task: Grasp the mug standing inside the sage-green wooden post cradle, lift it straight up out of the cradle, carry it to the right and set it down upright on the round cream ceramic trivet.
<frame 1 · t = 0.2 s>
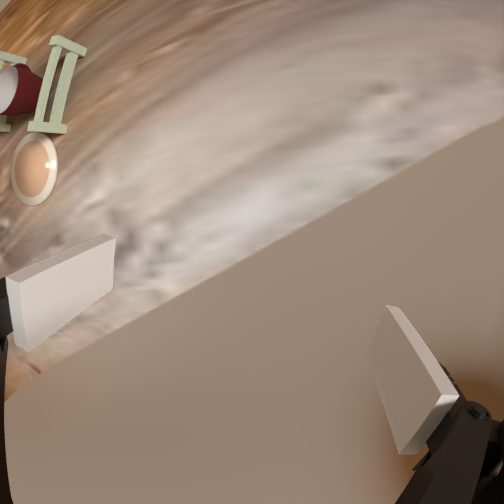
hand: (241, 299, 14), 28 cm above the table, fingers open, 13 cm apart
cradle: (40, 91, 39), on the table
trivet: (34, 168, 43), on the table
mug: (41, 92, 39), on the table
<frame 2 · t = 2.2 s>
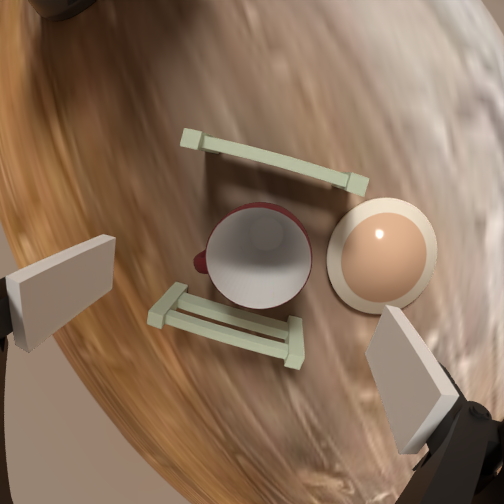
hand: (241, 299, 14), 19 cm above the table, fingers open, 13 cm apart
cradle: (255, 237, 33), on the table
trivet: (383, 256, 32), on the table
mug: (255, 237, 33), on the table
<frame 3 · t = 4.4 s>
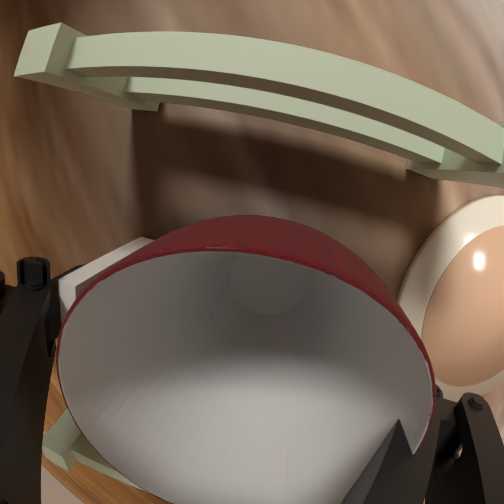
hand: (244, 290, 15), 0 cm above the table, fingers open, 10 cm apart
cradle: (245, 288, 15), on the table
trivet: (487, 307, 14), on the table
mug: (245, 286, 15), on the table, touching gripper
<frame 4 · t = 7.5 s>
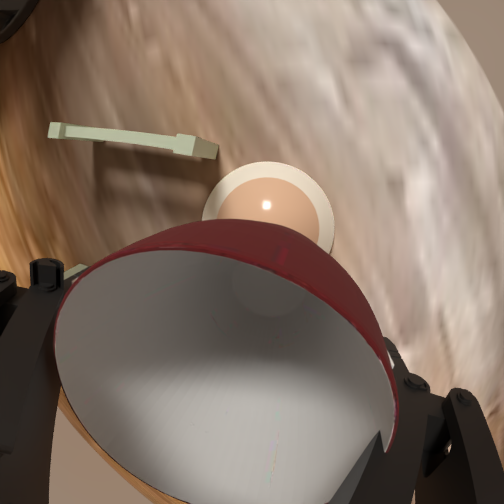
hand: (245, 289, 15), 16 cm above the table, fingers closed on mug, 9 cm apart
cradle: (136, 216, 32), on the table
trivet: (267, 227, 31), on the table
mug: (249, 289, 16), point 16 cm above the table, touching gripper
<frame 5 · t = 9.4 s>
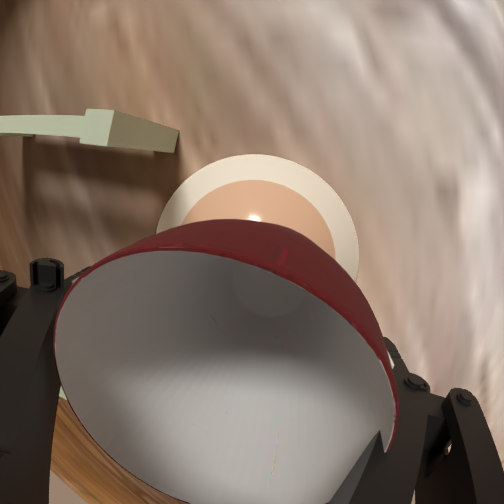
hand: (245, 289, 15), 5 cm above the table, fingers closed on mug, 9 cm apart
cradle: (72, 238, 21), on the table
trivet: (254, 259, 20), on the table
mug: (249, 289, 16), point 4 cm above the table, touching gripper
when the fingers open (2 cm above the table, at t = 10.5 s): mug stays where it is, resting on trivet.
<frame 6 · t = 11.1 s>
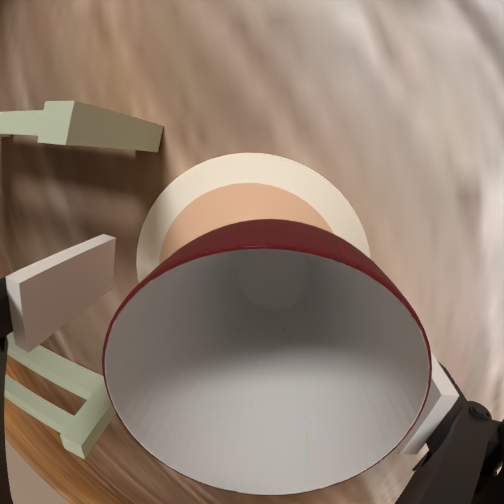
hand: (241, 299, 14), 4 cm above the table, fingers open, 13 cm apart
cradle: (50, 248, 18), on the table
trivet: (250, 274, 17), on the table
mug: (253, 284, 16), point 1 cm above the table, touching trivet
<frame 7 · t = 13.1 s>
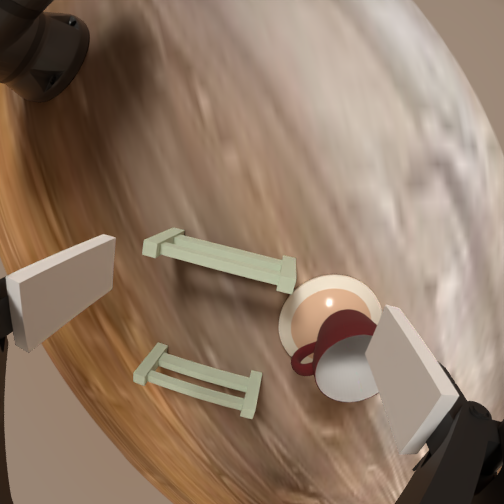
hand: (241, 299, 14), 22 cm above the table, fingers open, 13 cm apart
cradle: (218, 310, 38), on the table
trivet: (331, 324, 37), on the table
mug: (333, 328, 36), point 1 cm above the table, touching trivet
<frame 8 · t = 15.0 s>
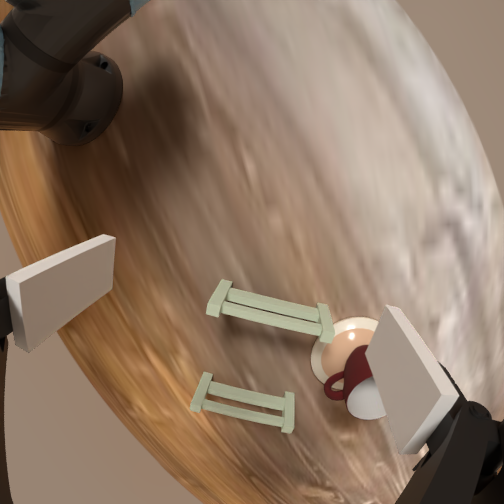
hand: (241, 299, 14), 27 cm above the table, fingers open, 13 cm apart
cradle: (260, 346, 44), on the table
trivet: (353, 354, 43), on the table
mug: (355, 358, 43), point 1 cm above the table, touching trivet
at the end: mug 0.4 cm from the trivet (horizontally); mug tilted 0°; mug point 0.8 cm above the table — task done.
